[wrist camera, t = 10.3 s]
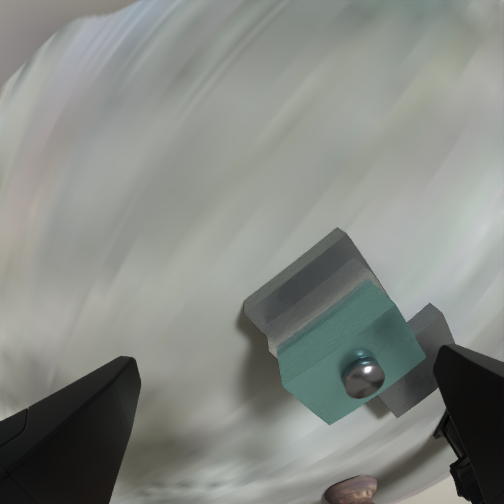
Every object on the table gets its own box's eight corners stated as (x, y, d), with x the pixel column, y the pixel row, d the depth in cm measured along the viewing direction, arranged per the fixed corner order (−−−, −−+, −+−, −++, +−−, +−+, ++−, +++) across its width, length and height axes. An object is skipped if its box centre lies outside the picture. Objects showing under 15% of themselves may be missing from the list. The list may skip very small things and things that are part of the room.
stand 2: (453, 354, 22) (463, 365, 20) (390, 405, 24) (397, 418, 22) (429, 302, 21) (442, 313, 19) (355, 363, 22) (362, 377, 20)
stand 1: (391, 307, 21) (402, 319, 19) (309, 368, 22) (314, 383, 20) (337, 227, 19) (346, 233, 17) (244, 300, 20) (244, 313, 18)
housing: (309, 369, 20) (330, 440, 13) (266, 324, 19) (274, 397, 12) (389, 309, 19) (439, 364, 12) (353, 256, 17) (405, 302, 11)
